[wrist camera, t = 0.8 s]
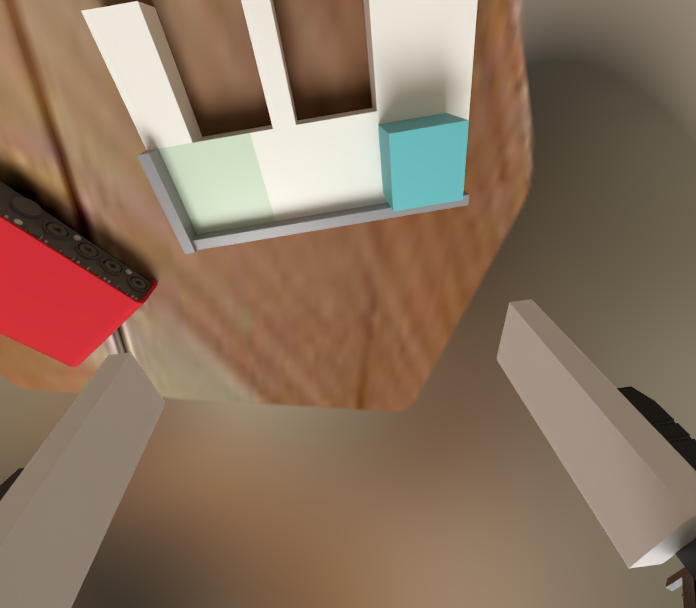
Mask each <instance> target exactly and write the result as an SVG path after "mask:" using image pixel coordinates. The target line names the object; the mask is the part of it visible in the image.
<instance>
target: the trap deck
mask: <svg viewBox="0 0 696 608" xmlns="http://www.w3.org/2000/svg"><path fill="white" fill-rule="evenodd" d="M477 1H478V0H363V2H364V14H365V27H366V39H367V52H368V64H369V76H370V89H371V101H372V108H368V109H362V110H356V111H350V112H344V113H338V114H333V115H327V116H321V117H315V118H309V119H303V120H298V121H297V116H296V111H295V106H294V101H293V96H292V91H291V86H290V81H289V76H288V71H287V66H286V62H285V57H284V52H283V47H282V42H281V37H280V32H279V27H278V22H277V17H276V12H275V8H274V3H273V0H241V2H242V6H243V10H244V14H245V18H246V22H247V26H248V30H249V34H250V38H251V42H252V46H253V50H254V54H255V58H256V62H257V66H258V70H259V74H260V79H261V83H262V87H263V91H264V95H265V99H266V103H267V107H268V111H269V115H270V119H271V123H272V125H268V126H262V127H257V128H251V129H245V130H239V131H233V132H227V133H221V134H216V135H210V136H204V137H202V134H201V132H200V129H199V126H198V124H197V121H196V118H195V115H194V113H193V110H192V107H191V104H190V102H189V99H188V96H187V94H186V91H185V88H184V85H183V83H182V80H181V77H180V75H179V72H178V69H177V66H176V64H175V61H174V58H173V56H172V53H171V50H170V47H169V45H168V42H167V39H166V37H165V34H164V31H163V28H162V26H161V23H160V20H159V18H158V15H157V12H156V9H155V7H152V6H150V5H147V4H144V3H142V2H139V1H134V2H129V3H123V4H118V5H112V6H106V7H101V8H95V9H89V10H84V11H81V12H82V14H83V16H84V18H85V20H86V22H87V24H88V27H89V29H90V31H91V33H92V35H93V37H94V39H95V41H96V43H97V46H98V48H99V50H100V52H101V54H102V56H103V58H104V60H105V63H106V65H107V67H108V69H109V71H110V73H111V75H112V77H113V80H114V82H115V84H116V86H117V88H118V90H119V92H120V94H121V97H122V99H123V101H124V103H125V105H126V107H127V109H128V111H129V114H130V116H131V118H132V120H133V122H134V124H135V126H136V128H137V130H138V133H139V135H140V137H141V139H142V141H143V143H144V145H145V147H146V150H147V151H145V152H143V153H141V154H139V155H137V157H138V159H139V161H140V163H141V165H142V167H143V170H144V172H145V174H146V176H147V178H148V180H149V182H150V184H151V186H152V188H153V190H154V192H155V194H156V196H157V198H158V200H159V202H160V204H161V206H162V208H163V210H164V212H165V214H166V216H167V218H168V220H169V222H170V224H171V226H172V228H173V230H174V232H175V234H176V236H177V238H178V240H179V243H180V245H181V247H182V249H183V251H184V253H185V254H189V253H195V252H196V250H200V249H206V248H212V247H218V246H224V245H230V244H236V243H242V242H248V241H254V240H260V239H266V238H272V237H279V236H285V235H291V234H297V233H303V232H309V231H315V230H321V229H327V228H333V227H339V226H345V225H351V224H357V223H363V222H369V221H375V220H381V219H387V218H393V217H399V216H405V215H411V214H417V213H423V212H429V211H435V210H441V209H447V208H453V207H459V206H465V205H468V204H469V194H468V193H466V192H465V191H463V200H460V201H453V202H447V203H441V204H435V205H429V206H423V207H417V208H411V209H405V210H399V211H393V210H392V209H391V207H390V205H389V203H388V201H387V199H386V198H385V196H384V194H383V185H382V171H381V158H380V144H379V130H378V124H384V123H390V122H395V121H401V120H407V119H413V118H419V117H425V116H431V115H437V114H442V113H449V114H452V115H455V116H458V117H461V118H464V119H467V120H469V109H470V95H471V82H472V68H473V55H474V42H475V28H476V15H477Z"/></svg>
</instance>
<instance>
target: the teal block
mask: <svg viewBox="0 0 696 608" xmlns="http://www.w3.org/2000/svg"><path fill="white" fill-rule="evenodd" d="M468 124H469V120H467V119H464V118H461V117H458V116H455V115H452V114H449V113H442V114H437V115H431V116H425V117H419V118H413V119H407V120H401V121H395V122H390V123H384V124H378V130H379V144H380V158H381V171H382V185H383V194H384V196H385V198H386V199H387V201H388V203H389V205H390V207H391V209H392V210H393V211H399V210H405V209H411V208H417V207H423V206H429V205H435V204H441V203H447V202H453V201H460V200H463V191H464V178H465V164H466V151H467V138H468Z"/></svg>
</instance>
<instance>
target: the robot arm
mask: <svg viewBox="0 0 696 608" xmlns="http://www.w3.org/2000/svg"><path fill="white" fill-rule="evenodd" d="M497 361H498V362H499V363H500V365H501V367H502V368H503V370H504V372H505V373H506V375H507V376H508V378H509V380H510V381H511V383H512V384H513V386H514V387H515V389H516V390H517V392H518V394H519V395H520V397H521V399H522V400H523V402H524V403H525V405H526V406H527V408H528V410H529V411H530V413H531V414H532V416H533V418H534V419H535V421H536V422H537V424H538V425H539V427H540V428H541V430H542V432H543V433H544V435H545V436H546V438H547V440H548V441H549V443H550V444H551V446H552V448H553V449H554V450H555V452H556V454H557V455H558V457H559V459H560V460H561V462H562V463H563V465H564V467H565V468H566V470H567V471H568V473H569V474H570V476H571V478H572V479H573V481H574V482H575V484H576V486H577V487H578V488H579V490H580V492H581V493H582V495H583V497H584V498H585V500H586V501H587V503H588V504H589V506H590V508H591V509H592V511H593V512H594V514H595V516H596V517H597V519H598V520H599V522H600V523H601V525H602V527H603V528H604V530H605V531H606V533H607V534H608V536H609V538H610V539H611V541H612V542H613V544H614V546H615V547H616V549H617V550H618V552H619V553H620V555H621V557H622V558H623V560H624V561H625V563H626V564H627V566H628V568H633V567H641V566H649V565H656V564H663V563H664V562H665V561H667V560H668V559H669V558H671V557H672V556H673V555H675V554H676V555H677V557H678V558H679V559H680V561H681V562H682V563H683V565H684V566H685V567H684V568H683V569H681V570H679V571H678V572H677V573H675V574H674V575H672V576H671V577H669V578H668V579H667V583H666V588H667V589H669V590H671V591H673V590H675V589H676V588H678V587H680V586H681V585H682V587H683V594H682V596H681V597H683V602H684V608H696V440H695V439H691V438H690V435H689V434H688V433H687V432H686V431H685V430H684V429H683V428H682V427H681V426H680V425H679V424H678V423H675V422H674V419H673V418H672V417H671V416H670V415H669V414H667V412H666V411H665V410H663V408H662V407H660V406H659V405H658V404H657V403H656V402H655V401H654V400H652V399H651V398H649V397H647V396H646V395H644V394H643V393H641V392H639V391H637V390H636V389H634V388H633V387H624V388H615V386H614V385H613V384H612V383H611V382H610V381H609V380H608V379H607V378H606V377H605V376H604V375H603V374H602V373H601V372H600V371H599V369H598V368H597V367H596V366H595V365H594V364H593V363H592V362H591V361H590V360H589V359H588V358H587V357H586V356H585V355H584V354H583V353H582V352H581V351H580V350H579V349H578V348H577V346H576V345H575V344H574V343H573V342H572V341H571V340H570V339H569V338H568V337H567V336H566V335H565V334H564V333H563V332H562V331H561V330H560V329H559V328H558V327H557V326H556V325H555V323H554V322H553V321H552V320H551V319H550V318H549V317H548V316H547V315H546V314H545V313H544V312H543V311H542V310H541V309H540V308H539V307H538V306H537V305H536V304H535V303H534V302H533V300H524V301H516V302H510V303H509V307H508V311H507V316H506V320H505V324H504V328H503V333H502V337H501V342H500V346H499V350H498V355H497ZM164 405H165V401H164V400H163V398H162V397H161V395H160V394H159V393H158V391H157V390H156V388H155V387H154V385H153V384H152V382H151V381H150V380H149V378H148V377H147V375H146V374H145V372H144V371H143V369H142V368H141V366H140V365H139V364H138V362H137V361H136V359H135V358H134V356H133V355H132V353H131V352H129V353H122V354H114V355H108V357H107V358H106V359H105V361H104V362H103V363H102V365H101V366H100V367H99V369H98V370H97V371H96V373H95V374H94V375H93V377H92V378H91V380H90V381H89V382H88V384H87V385H86V386H85V388H84V389H83V390H82V392H81V393H80V394H79V396H78V397H77V398H76V400H75V401H74V402H73V404H72V405H71V406H70V408H69V409H68V411H67V412H66V413H65V415H64V416H63V417H62V419H61V420H60V421H59V423H58V424H57V425H56V427H55V428H54V429H53V431H52V432H51V433H50V435H49V436H48V438H47V439H46V440H45V441H44V443H43V444H42V446H41V447H40V448H39V450H38V451H37V452H36V454H35V455H34V456H33V458H32V459H31V461H30V462H29V463H28V464H27V466H26V467H25V468H22V469H18V470H17V471H16V472H15V473H14V474H13V475H11V476H10V477H9V478H8V479H7V480H6V481H5V482H4V483H3V484H2V485H0V608H71V607H72V604H73V602H74V600H75V598H76V596H77V594H78V592H79V589H80V587H81V585H82V583H83V581H84V578H85V576H86V574H87V572H88V570H89V568H90V566H91V563H92V561H93V559H94V557H95V555H96V553H97V550H98V548H99V546H100V544H101V542H102V540H103V537H104V535H105V533H106V531H107V529H108V527H109V524H110V522H111V520H112V518H113V516H114V513H115V511H116V509H117V507H118V505H119V503H120V500H121V498H122V496H123V494H124V492H125V490H126V487H127V485H128V483H129V481H130V479H131V477H132V474H133V472H134V470H135V468H136V466H137V464H138V461H139V459H140V457H141V455H142V453H143V451H144V448H145V446H146V444H147V442H148V440H149V438H150V435H151V433H152V431H153V429H154V427H155V425H156V422H157V420H158V418H159V416H160V414H161V412H162V409H163V407H164Z"/></svg>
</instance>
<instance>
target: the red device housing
mask: <svg viewBox="0 0 696 608" xmlns="http://www.w3.org/2000/svg"><path fill="white" fill-rule="evenodd" d="M157 284H158V283H157V281H155V280H154V279H153V280H152V281H151V282H149V281H148V280H146V279H145V278H144V277H142V276H141V275H139V274H138V273H136V272H135V271H133V270H132V269H130V268H129V267H127V266H126V265H124V264H123V263H121V262H120V261H118V260H117V259H115V258H114V257H112V256H111V255H109V254H108V253H106V252H105V251H103V250H102V249H100V248H99V247H98V246H96V245H95V244H93V243H92V242H90V241H89V240H87V239H86V238H84V237H83V236H81V235H80V234H78V233H77V232H75V231H74V230H72V229H71V228H69V227H68V226H66V225H65V224H63V223H62V222H60V221H59V220H57V219H56V218H54V217H53V216H51V215H50V214H49V213H47V212H46V211H44V210H43V209H41V207H40V206H39V205H38V204H37V203H36V202H34V201H32V200H30V199H28V198H25V197H23V196H22V195H20V194H19V193H17V192H16V191H14V190H13V189H11V188H10V187H8V186H7V185H5V184H4V183H2V182H1V181H0V334H2V335H4V336H7V337H9V338H11V339H13V340H15V341H17V342H19V343H21V344H24V345H26V346H28V347H30V348H32V349H34V350H36V351H38V352H41V353H43V354H45V355H47V356H49V357H51V358H53V359H55V360H58V361H60V362H62V363H64V364H66V365H68V366H71V367H76V366H78V365H80V364H81V363H82V362H83V361H84V360H85V359H86V358H87V357H88V356H89V355H90V354H91V353H92V352H93V351H94V350H95V349H97V348H98V347H99V346H100V345H101V344H102V343H103V342H104V341H105V340H106V339H107V338H108V337H109V336H110V335H111V334H112V333H113V332H114V331H115V330H116V329H117V328H118V327H119V326H121V325H122V324H123V323H124V322H125V321H126V320H127V319H128V318H129V317H130V316H131V315H132V314H133V313H134V312H135V311H136V310H137V309H138V308H139V307H140V306H141V305H142V304H143V303H144V302H145V301H146V300H147V299H148V297H149V296H150V294H151V293H152V292H153V290H154V289H155V288H156V286H157Z"/></svg>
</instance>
